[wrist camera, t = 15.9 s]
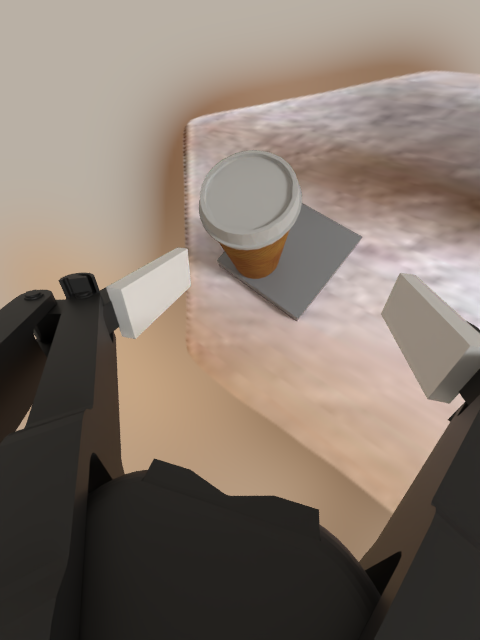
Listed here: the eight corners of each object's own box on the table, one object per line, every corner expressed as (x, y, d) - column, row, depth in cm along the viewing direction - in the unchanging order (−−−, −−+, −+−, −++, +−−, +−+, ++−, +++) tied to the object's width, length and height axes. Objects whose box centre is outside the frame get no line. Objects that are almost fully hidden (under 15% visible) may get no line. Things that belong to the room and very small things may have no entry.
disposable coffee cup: (278, 218, 32) (282, 131, 20) (301, 277, 29) (321, 217, 18) (215, 240, 32) (184, 167, 21) (233, 299, 30) (208, 255, 18)
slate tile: (277, 196, 34) (277, 189, 33) (358, 243, 31) (362, 237, 29) (219, 265, 33) (217, 260, 31) (297, 321, 30) (298, 318, 28)
